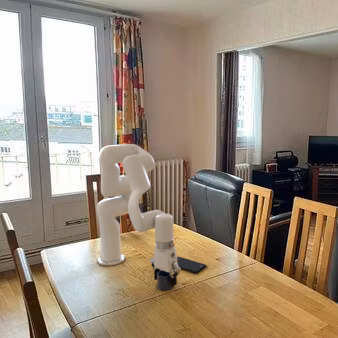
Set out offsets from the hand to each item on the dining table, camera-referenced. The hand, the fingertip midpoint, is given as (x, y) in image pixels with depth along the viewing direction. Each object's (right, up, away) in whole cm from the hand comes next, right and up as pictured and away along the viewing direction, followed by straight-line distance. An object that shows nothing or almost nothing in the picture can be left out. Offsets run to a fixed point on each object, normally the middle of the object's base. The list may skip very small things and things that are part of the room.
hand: (165, 282), depth 139 cm
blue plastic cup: (0, -2, 0) cm, 2 cm away
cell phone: (+7, +1, +20) cm, 21 cm away
